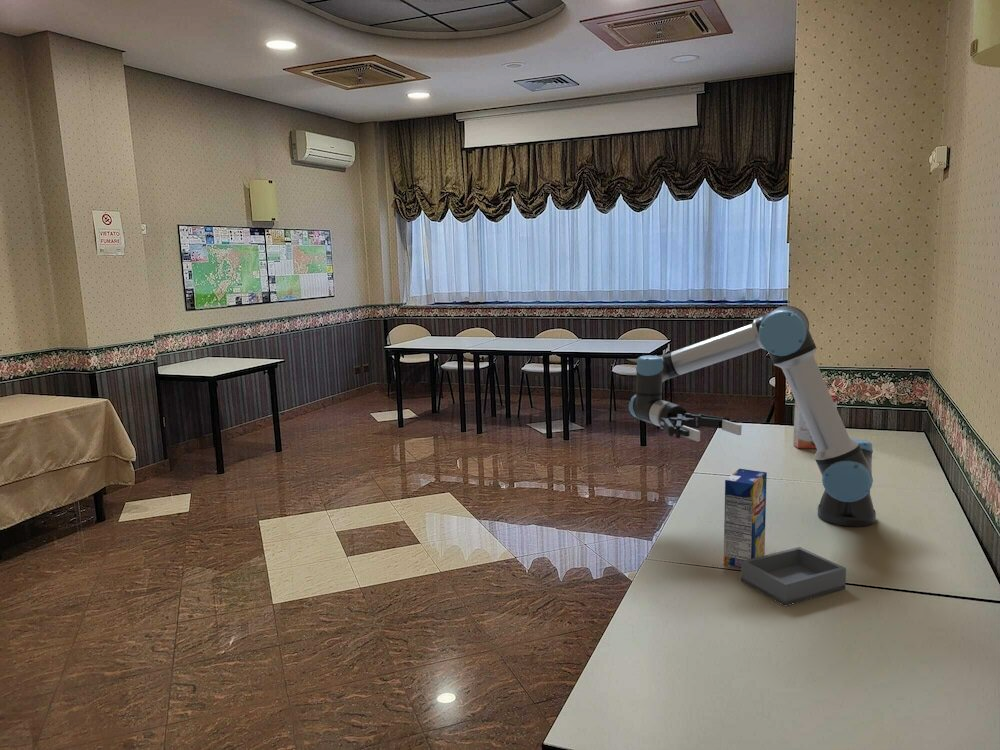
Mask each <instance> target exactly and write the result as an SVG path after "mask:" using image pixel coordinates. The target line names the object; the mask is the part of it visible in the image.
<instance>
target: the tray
mask: <svg viewBox="0 0 1000 750" xmlns="http://www.w3.org/2000/svg"><path fill="white" fill-rule="evenodd" d="M846 576H847V567H844V566H842V565H840V564H837V563H835V562H833V561H832V560H829V559H827V558H824V557H822V556H820V555H817V553H816V554H815V553H813V552H811V551H809V550H807V549H805V548H803V547H801V546H797V547H794V548H789V549H786V550H782V551H777V552H772V553H769V554H765V555H764V556H761V557H757V558H753V559H749V560H745V561H741V568H740V582H741V583H744V584H745V585H747V586H748V587H750V588H752V589H754V590H756V591H757V592H759V593H761V594H763V595H764V594H765V596H766V597H768V598H769V599H771V598H772V599H771V600H773V601H775V600H776V601H775V602H777V603H778V602H779V603H778V604H780V603H781V605H782V604H783V605H782V606H784V605H787V606H790V605H789V604H791V605H793V604H792V603H794V604H797V602H798V603H801V602H804V600H805V601H808V600H812V599H815V598H818V596H819V597H822V596H826V595H828V594H832V593H836V592H839V591H843V590H845V589H846V581H847V580H846V578H847V577H846ZM825 594H826V595H825ZM814 597H815V598H814ZM811 598H812V599H811ZM807 599H808V600H807ZM800 601H801V602H800Z"/></svg>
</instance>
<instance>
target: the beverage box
mask: <svg viewBox="0 0 1000 750" xmlns="http://www.w3.org/2000/svg"><path fill="white" fill-rule="evenodd" d="M767 476H768V473H767V472H765V471H759V470H752V469H746V468H738V469H737V470H735V472H733V473H731V474H730V476H728V477H726V478H725V480H724V525H723V526H724V530H723V531H724V532H723V533H724V535H723V537H724V538H723V565H724V564H726V565H725V566H728V565H730V566H729V567H732V566H733V567H732V568H737V569H741V561H745V560H749V559H753V558H757V557H761V556H765V555H766V554H765V552H766V551H765V548H766V515H767V513H766V511H767V506H766V505H767V481H768V479H767Z"/></svg>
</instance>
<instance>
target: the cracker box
mask: <svg viewBox="0 0 1000 750" xmlns="http://www.w3.org/2000/svg"><path fill="white" fill-rule="evenodd" d="M829 392H830V391H829ZM830 395H831V397H832V399H833V402H834V404H835V406H836V408H837V409H838V395H837V394H836V393H833V392H830ZM794 400H795V399H794ZM793 415H794V417H793V437H792V438H793V440H792V443H793V446H794V447H796V448H797V449H817V448H816V445H815V443H814V441H813V439H812V436H811V434H810V432H809V429H808V427H807V425H806V423H805V420H804V418H803V416H802V413H801V411H800V409H799V407H798V404H797V402H796V400H795V401H794V414H793Z"/></svg>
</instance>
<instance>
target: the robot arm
mask: <svg viewBox="0 0 1000 750" xmlns="http://www.w3.org/2000/svg"><path fill="white" fill-rule="evenodd" d="M759 349H762V350H764V351H767V352H768V355H769V357H770V359H771V362H772V364H773V366H776V367H778V368H780V369H781V370H782V373H783V375H784V376H785V379H786V381H787V384H788V386H789V388H790V391H791V393H792V395H793V397H794V400H796V402H797V404H798V407H799V409H800V411H801V413H802V416H803V418H804V420H805V423H806V425H807V427H808V429H809V432H810V434H811V436H812V439H813V441H814V443H815V445H816V448H815V449H816V452H815V454H814V460H815V462H816V464H817V467H818V469H819V472H820V474H821V478H822V479H821V481H822V485H823V486H822V487H823V488H824V492H823V494H822V496H821V499H820V502H819V503H818V506H817V516H818V518H820V519H821V520H822V521H825V522H826V523H830V524H833V525H837V526H843V527H852V526H853V527H858V528H859V527H867V526H871V525H873V524H875V522H876V521H877V518H876V517H877V512H876V510H875V508H874V505H873V500H872V495H871V489H872V487H873V482H874V480H873V479H874V478H873V470H872V468H873V467H872V466H873V465H872V462H873V459H872V458H873V452H874V451H873V444H872V443H871V442H870V441H869V440H864V439H859V438H850V436H849V434H848V432H847V428H846V427H845V424H844V421H843V420H842V417H841V416H840V413H839V411H838V407H837V408H836V406H835V404H834V402H833V399H832V397H831V395H830V390H829V388H828V386H827V384H826V382H825V379H824V377H823V375H822V372H821V369H820V368H819V366H818V363H817V360H816V358H815V353H816V352H817V345H816V344H815V341H814V338H813V336H812V334H811V332H810V321H809V318H808V316H807V315H806V313H805V312H804V311H803V310H801V309H800V308H798V307H797V306H791V305H783V306H779V307H777V308H776V307H775V309H773V310H772V311H770V312H768V313H766V314H764V315H761V316H759V317H757V318H754V319H753V321H752V323H749V324H747V325H744V326H742V327H739V328H736V329H732V330H730V331H727V332H725V333H721V334H719V335H717V336H712V337H709V338H707V339H704V340H702V341H699V342H696V343H693V344H690V345H687V346H685V347H684V346H683V347H681V348H679V349H676V350H674V351H671V352H668V353H665V354H660V355H641V356H639V357H637V360H636V368H635V369H636V382H635V383H636V384H635V385H636V387H635V389H636V390H635V394H634V395H633V396H632V397H631V398H630V401H629V403H628V411H629V413H630V415H632V416H633V417H634V418H637V420H639V421H642V422H645V423H649V424H652V425H655V426H658V427H659V428H660V429H661V430H662V429H664V431H665V432H666V433H667V435H668V436H669V437H671V436H674V434H675V438H676V439H681V437H684V438H687V439H689V440H692V441H695V442H697V443H698V442H701V430H698V429H700V428H701V427H703V428H712V429H713V428H714V429H721V430H722V431H725V432H727V433H730V434H735V435H737V436H742V427H743V426H742V424H739V423H736V422H734V421H731V418H730V417H728V416H717V415H711V414H704V413H701V412H697V413H696V414H692V413H691V412H690V413H689V412H687V410H686V408H685V407H683V406H682V405H679V404H676V403H673V402H670V401H667V400H664V399H662V398H663V383H664V382H665V381H667V380H670V379H673V378H675V377H678V376H681V375H684V374H687V373H690V372H694V371H696V370H699V369H702V368H705V367H709V366H711V365H715V364H717V363H720V362H724V361H726V360H730V359H732V358H736V357H739V356H741V355H744V354H748V353H751V352H754V351H756V350H759Z"/></svg>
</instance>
